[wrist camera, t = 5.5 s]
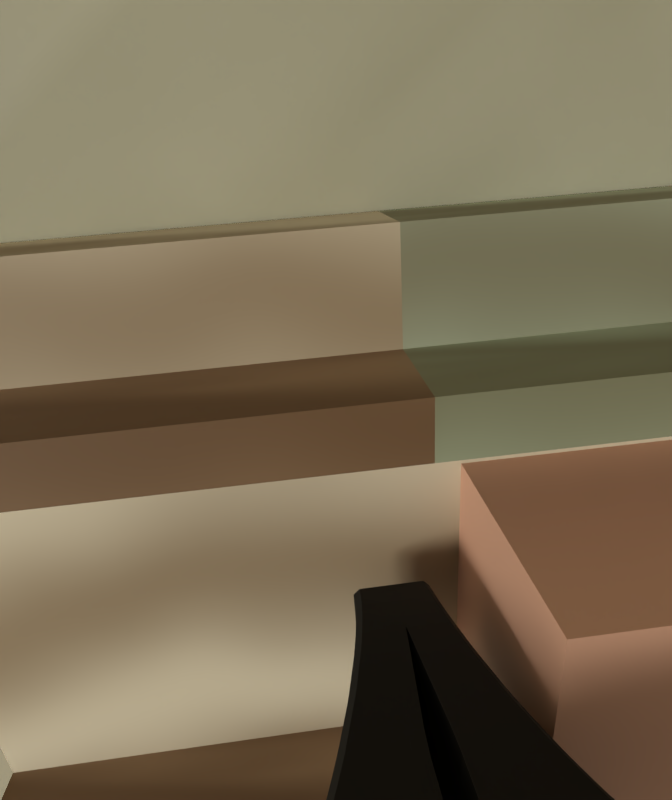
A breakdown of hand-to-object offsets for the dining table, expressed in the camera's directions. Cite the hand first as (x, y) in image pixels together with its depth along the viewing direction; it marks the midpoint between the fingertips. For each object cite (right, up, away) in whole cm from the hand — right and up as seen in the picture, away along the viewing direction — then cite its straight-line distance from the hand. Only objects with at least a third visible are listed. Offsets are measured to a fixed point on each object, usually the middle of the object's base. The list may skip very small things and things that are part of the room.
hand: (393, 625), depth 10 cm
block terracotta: (+4, +1, +1) cm, 4 cm away
